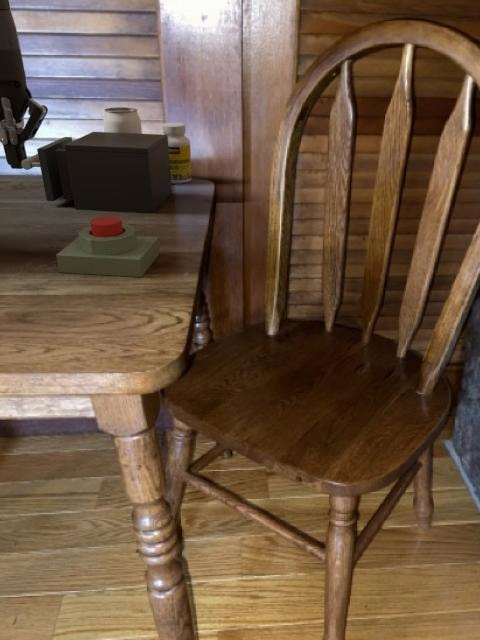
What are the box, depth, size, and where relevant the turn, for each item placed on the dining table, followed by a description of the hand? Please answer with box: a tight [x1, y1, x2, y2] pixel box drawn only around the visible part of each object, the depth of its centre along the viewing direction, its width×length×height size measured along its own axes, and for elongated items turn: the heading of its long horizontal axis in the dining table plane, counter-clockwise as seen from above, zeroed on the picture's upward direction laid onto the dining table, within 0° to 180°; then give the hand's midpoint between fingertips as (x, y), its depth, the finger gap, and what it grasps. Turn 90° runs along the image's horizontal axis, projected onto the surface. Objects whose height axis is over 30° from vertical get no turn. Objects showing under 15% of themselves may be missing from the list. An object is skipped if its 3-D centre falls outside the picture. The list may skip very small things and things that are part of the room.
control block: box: [55, 223, 160, 278], centre depth 70 cm, size 10×8×4 cm
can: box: [102, 106, 143, 134], centre depth 103 cm, size 6×6×12 cm
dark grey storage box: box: [65, 131, 173, 214], centre depth 92 cm, size 13×12×10 cm
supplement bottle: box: [162, 122, 192, 185], centre depth 104 cm, size 5×5×10 cm
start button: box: [89, 215, 123, 237], centre depth 68 cm, size 4×4×2 cm
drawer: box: [21, 136, 74, 202], centre depth 92 cm, size 16×10×8 cm, turn 85°
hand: (18, 167), depth 93 cm, fingers closed
